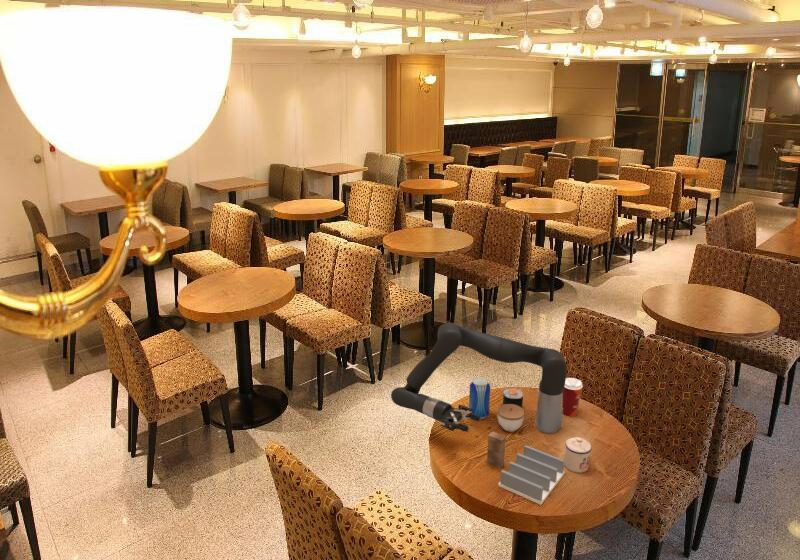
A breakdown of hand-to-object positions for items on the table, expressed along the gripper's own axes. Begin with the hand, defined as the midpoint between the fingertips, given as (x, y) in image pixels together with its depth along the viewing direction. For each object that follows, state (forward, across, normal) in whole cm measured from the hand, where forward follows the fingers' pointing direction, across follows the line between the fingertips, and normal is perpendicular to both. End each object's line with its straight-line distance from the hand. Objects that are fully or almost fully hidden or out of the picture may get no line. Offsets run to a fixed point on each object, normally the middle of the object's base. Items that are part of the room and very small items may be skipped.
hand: (473, 424), depth 218 cm
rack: (+25, 0, +13) cm, 28 cm away
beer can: (-12, +25, +13) cm, 31 cm away
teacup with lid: (+34, +18, +13) cm, 41 cm away
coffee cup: (+19, +49, +13) cm, 54 cm away
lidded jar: (+3, +25, +13) cm, 28 cm away
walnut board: (+10, 0, +13) cm, 16 cm away
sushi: (-3, +39, +13) cm, 41 cm away
